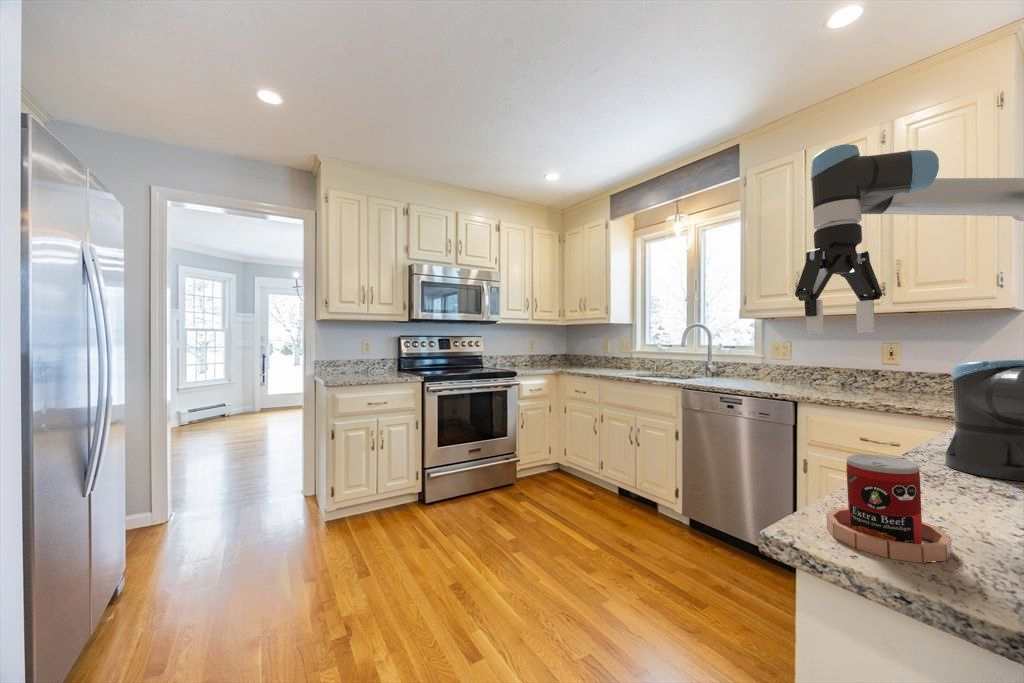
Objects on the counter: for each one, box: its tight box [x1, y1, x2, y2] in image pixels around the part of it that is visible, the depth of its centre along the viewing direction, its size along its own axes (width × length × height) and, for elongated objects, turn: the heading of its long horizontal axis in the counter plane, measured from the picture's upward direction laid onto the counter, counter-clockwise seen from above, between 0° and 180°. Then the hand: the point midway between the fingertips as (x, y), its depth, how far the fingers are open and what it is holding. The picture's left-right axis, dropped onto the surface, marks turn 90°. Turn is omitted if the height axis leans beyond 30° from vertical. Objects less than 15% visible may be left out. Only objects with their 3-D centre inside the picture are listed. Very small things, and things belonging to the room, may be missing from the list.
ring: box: [826, 507, 952, 564], centre depth 58 cm, size 13×13×2 cm
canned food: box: [845, 454, 923, 544], centre depth 58 cm, size 8×8×11 cm
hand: (841, 333), depth 82 cm, fingers open, 13 cm apart
